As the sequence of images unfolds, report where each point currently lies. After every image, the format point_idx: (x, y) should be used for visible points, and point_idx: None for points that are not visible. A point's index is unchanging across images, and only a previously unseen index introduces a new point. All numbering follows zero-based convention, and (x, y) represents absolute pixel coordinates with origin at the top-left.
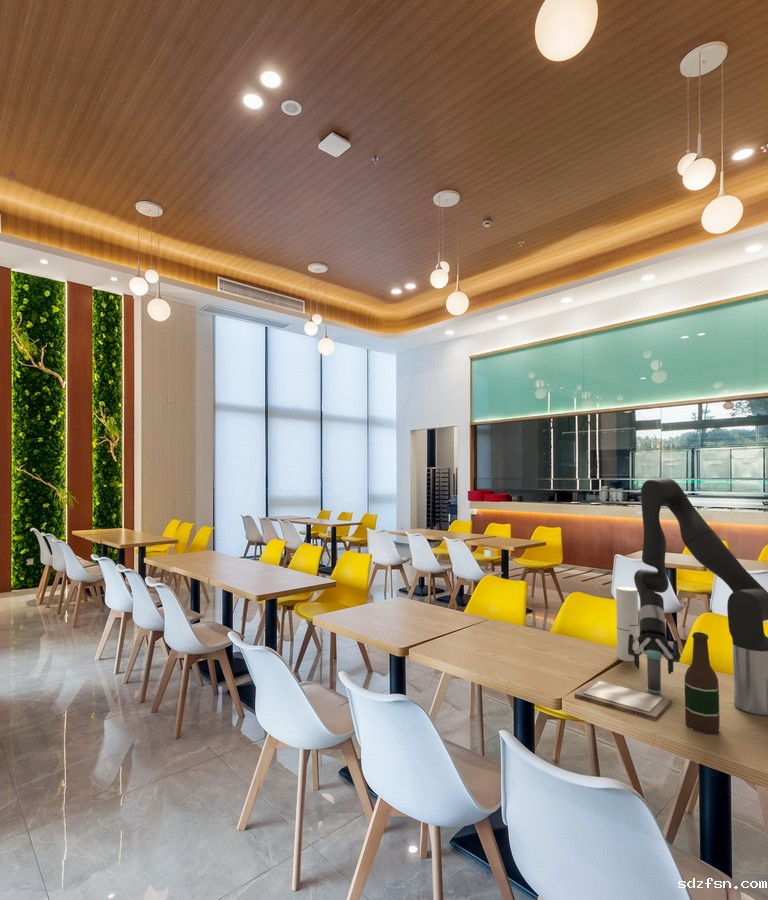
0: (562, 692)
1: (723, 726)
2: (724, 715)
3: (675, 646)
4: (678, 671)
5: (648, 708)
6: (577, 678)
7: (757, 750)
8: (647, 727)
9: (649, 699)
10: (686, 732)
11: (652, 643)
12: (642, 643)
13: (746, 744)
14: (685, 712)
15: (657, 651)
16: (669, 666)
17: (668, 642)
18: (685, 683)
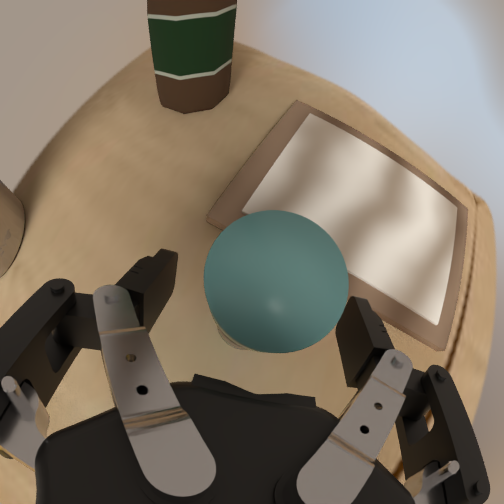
0: (482, 237)
1: (136, 109)
2: (88, 167)
3: (3, 358)
4: None
5: (310, 126)
6: (470, 364)
7: (141, 56)
8: (316, 86)
9: (296, 185)
10: (240, 75)
11: (257, 462)
12: (386, 424)
13: (144, 65)
14: (230, 70)
15: (232, 296)
16: (160, 260)
17: (37, 452)
18: (235, 4)
